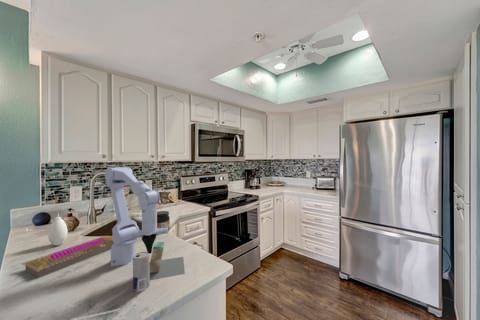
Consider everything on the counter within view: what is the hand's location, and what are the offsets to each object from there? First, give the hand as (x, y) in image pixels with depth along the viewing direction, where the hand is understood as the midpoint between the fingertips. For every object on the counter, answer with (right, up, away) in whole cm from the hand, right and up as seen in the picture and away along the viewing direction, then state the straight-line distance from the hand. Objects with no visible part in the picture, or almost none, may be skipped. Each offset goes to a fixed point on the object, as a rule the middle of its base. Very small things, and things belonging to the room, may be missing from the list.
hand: (149, 252), depth 81 cm
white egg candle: (-64, -9, +28) cm, 71 cm away
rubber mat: (+4, -8, +1) cm, 9 cm away
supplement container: (-15, -9, +50) cm, 53 cm away
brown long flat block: (-41, -9, +14) cm, 45 cm away
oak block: (+2, -7, +1) cm, 7 cm away
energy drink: (+2, -8, -11) cm, 14 cm away
